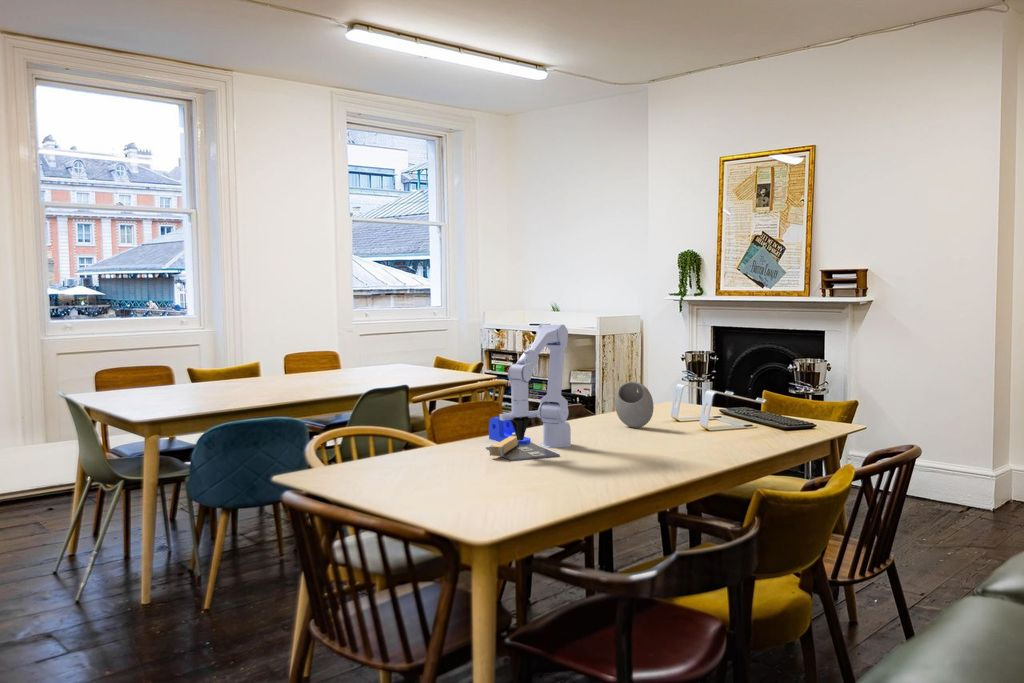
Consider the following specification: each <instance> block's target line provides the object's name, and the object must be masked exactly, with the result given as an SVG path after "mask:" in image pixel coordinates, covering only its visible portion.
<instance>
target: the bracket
mask: <svg viewBox="0 0 1024 683" xmlns="http://www.w3.org/2000/svg"><path fill="white" fill-rule="evenodd" d="M513 432H515V430H514V427H513V425H512V423H511V421H510V420H504V421H502V420H500V416H493V417H491V418H490V419H489V422H488V439H489V440H492V441H495V442H497V443H499V442H501V441H503V440H504V439H506V438H508V437H509V436H512V433H513ZM529 443H531V438H530V437H527V436H524V439H523V440H519V444H529Z"/></svg>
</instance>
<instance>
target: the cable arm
mask: <svg viewBox="0 0 1024 683" xmlns="http://www.w3.org/2000/svg"><path fill="white" fill-rule="evenodd" d="M517 445H518V440H517V436H509V437H508V438H506V439H504V440H503V441H501V442H497V443H495V444H494V445H490V446H489V447H490V451H489V456H491V457H492V456H493V457H501V456H503V455H504V453H506V452H507V451H509V450H510V449H512V448H514V447H515V446H517Z"/></svg>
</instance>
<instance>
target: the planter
mask: <svg viewBox="0 0 1024 683" xmlns="http://www.w3.org/2000/svg"><path fill="white" fill-rule="evenodd" d="M614 407H615V408H614V409H615V412H616V414H617V417H618V418H619V420H620V421H621V422H622V423H623V424H624V425H626V426H627V427H629V428H633V429H639V428H642V427H644V426H646V425H647V424H648V423H649V422H650V421H651V420H652V418H653V413H654V400H653V397H652V394H651V392H650V391H649V389H648V388H647V387H646V386H645V385H644V384H643V383H640V382H638V381H627V382H625V383H623V384H622V385H621V386H619V387H618V389H617V392H616V395H615V398H614Z"/></svg>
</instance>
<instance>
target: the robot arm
mask: <svg viewBox="0 0 1024 683" xmlns="http://www.w3.org/2000/svg"><path fill="white" fill-rule="evenodd" d="M535 335H536V337H535V339H534V341H533V342H532V344H531V346H530V348H527V349H524V352H523V353H522V354H521V355H520V357H519V359H518V360H517V361H516V363H512V365H510V366H509V368H508V371H507V378H508V380H509V385H510V389H511V391H510V393H511V396H510V397H511V411H510V412H506V413H500V414H499V417H500V420H502V421H504V420H510V421H511V423H512V425H513V427H514V430H515V433H516V436H517V440H523V439H524V437H525V435H526V434H525V433H526V430H527V428H528V426H529V424H531V418H539V419H540V420H541V422H542V424H543V425H542V428H543V431H542V432H543V437H542V438H543V440H542V441H543V442H540V443H538V446H540V447H543V448H546V449H555V448H556V449H557V448H564V447H567V448H568V447H572V446H573V445H572V443H571V441H572V440H571V434H572V433H571V430H572V429H571V425H570V423H569V421H567V419H568V417H569V404H568V402H569V401H568V400H567V399H566V397H564V396H563V395H562V387H563V374H564V358H565V349H566V348H568V340H569V330H568V328H567V326H566V325H565V324H563V323H562V324H548V323H547V324H545V323H541V324H539V325H538V326H537V328H536V330H535ZM544 348H548V350H549V362H548V363H549V364H548V378H547V390H546V394H545V395H544V396H542V398H540V400H539V401H540V403H539V406H538V409H537V410H529V382H530V381H531V379H532V376H533V372H534V368H535V366H536V365H537V363H538V362H539V359H540V357H539V354H540V353H541V352H542V351H543V349H544Z"/></svg>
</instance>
